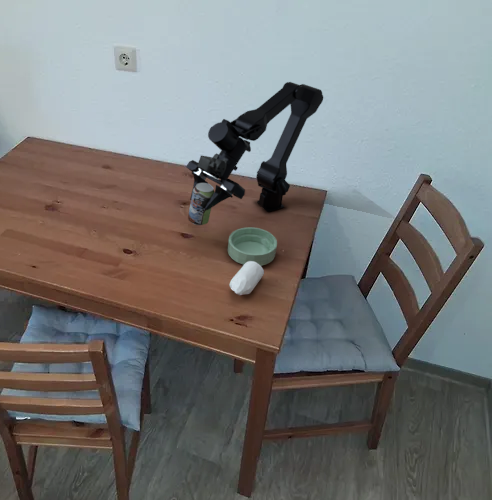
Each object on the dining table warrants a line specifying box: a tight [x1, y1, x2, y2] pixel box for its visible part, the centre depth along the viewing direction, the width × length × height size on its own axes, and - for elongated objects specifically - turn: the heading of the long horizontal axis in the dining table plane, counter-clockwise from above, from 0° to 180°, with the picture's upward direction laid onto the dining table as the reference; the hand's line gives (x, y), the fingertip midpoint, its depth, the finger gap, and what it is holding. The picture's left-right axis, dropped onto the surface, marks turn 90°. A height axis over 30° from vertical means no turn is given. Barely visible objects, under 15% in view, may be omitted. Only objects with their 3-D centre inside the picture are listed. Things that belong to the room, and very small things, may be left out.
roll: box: [229, 261, 265, 296], centre depth 141 cm, size 6×12×6 cm, turn 147°
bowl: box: [227, 226, 278, 267], centre depth 154 cm, size 13×13×4 cm
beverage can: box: [187, 182, 215, 226], centre depth 153 cm, size 6×7×12 cm
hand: (198, 204), depth 152 cm, fingers closed on beverage can, 6 cm apart
